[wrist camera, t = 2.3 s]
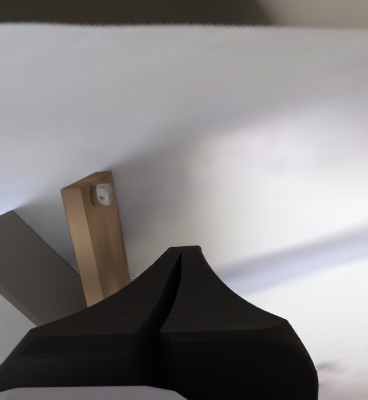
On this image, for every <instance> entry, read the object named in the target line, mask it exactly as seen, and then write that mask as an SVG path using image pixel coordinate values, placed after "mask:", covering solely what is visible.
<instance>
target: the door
mask: <svg viewBox="0 0 368 400" xmlns="http://www.w3.org/2000/svg"><path fill="white" fill-rule="evenodd" d="M61 194H62V199H63V203H64V207H65V212H66V216H67V220H68V224H69V229H70V233H71V237H72V242H73V246H74V250H75V255H76V259H77V263H78V268H79V272H80V276H81V281H82V285H83V289H84V294H85V298H86V302H87V307H90V306H92V305H94V304H96V303H98V302H100V301H102V300H103V299H105V298H107V297H109V296H111V295H112V294H114V293H116V292H118V291H119V290H121V289H122V288H124V287H125V286H127V285H128V284H129V283H130V277H129V271H128V265H127V260H126V254H125V248H124V243H123V237H122V231H121V225H120V220H119V214H118V208H117V203H116V197H115V191H114V185H113V180H112V174H111V171H102V172H95V173H93V174H91V175H89V176H87V177H85V178H83V179H81V180H79V181H77V182H75V183H73V184H71V185H69V186H67V187H65V188H63V189H61Z"/></svg>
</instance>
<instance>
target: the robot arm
mask: <svg viewBox="0 0 368 400" xmlns="http://www.w3.org/2000/svg"><path fill="white" fill-rule="evenodd" d="M318 387H319V384H318V376H317V371H316V369H315V366H314V364H313V361H312V359H311V357H310V355H309V353H308V352H307V350H306V348H305V346H304V345H303V343H302V341H301V340H300V338H299V337H298V335H297V334H296V332H295V331H294V329H293V328H292V326H291V325H290V323H289V322H288V321H287V320H286V319H283V318H281V317H279V316H276V315H274V314H271V313H269V312H267V311H264V310H262V309H260V308H258V307H256V306H255V305H253V304H251V303H249V302H248V301H246V300H244V299H243V298H241V297H240V296H239V295H237V294H236V293H234V292H233V291H232V290H231V289H230V288H228V287H227V286H226V285H225V284H224V283H223V282H222V281H221V280H220V278H219V277H218V276H217V275H216V274H215V273H214V271H213V270H212V269H211V267H210V266H209V264H208V263H207V261H206V259H205V258H204V256H203V254H202V251H201V247H200V246H181V247H170V248H168V249H167V250H166V251H165V252H164V253H163V254H162V255H161V256H160V257H159V258H158V259H157V260H156V261H155V262H154V263H153V264H152V265H151V266H150V267H149V268H148V269H147V270H146V271H144V272H143V273H142V274H141V275H140V276H138V277H137V278H136V279H135V280H134V281H132V282H131V283H129V284H128V285H127V286H125V287H124V288H122V289H121V290H119V291H118V292H116V293H114V294H112V295H111V296H109V297H107V298H105V299H103V300H102V301H100V302H98V303H96V304H94V305H92V306H90V307H88V308H86V309H84V310H81V311H79V312H77V313H74V314H72V315H69V316H67V317H64V318H62V319H59V320H56V321H53V322H50V323H47V324H44V325H41V326H38V327H35V328H32V329H30V330H29V331H28V332H27V333H26V335H25V336H24V337H23V338H22V340H21V341H20V342H19V343H18V344H17V346H16V347H15V348H14V349H13V351H12V352H11V353H10V354H9V355H8V357H7V358H6V359H5V360H4V361H3V363H2V364H1V365H0V400H318Z"/></svg>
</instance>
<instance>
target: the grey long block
mask: <svg viewBox="0 0 368 400" xmlns="http://www.w3.org/2000/svg"><path fill="white" fill-rule="evenodd" d="M86 308H88V307H87V302H86V298H85V294H84V289H83V285H82V281H81V276H80V275H79V274H78V273H77V272H76V271H75V270H73V269H72V268H71V267H70V266H69V265H68V264H67V263H66V262H65V261H64V260H63V259H62V258H61V257H60V256H59V255H58V254H57V253H56V252H55V251H54V250H53V249H52V248H51V247H50V246H49V245H48V244H46V243H45V242H44V241H43V240H42V239H41V238H40V237H39V236H38V235H37V234H36V233H35V232H34V231H33V230H32V229H31V228H30V227H29V226H28V225H27V224H26V223H25V222H24V221H23V220H22V219H21V218H19V217H18V216H17V215H16V214H15V213H14V212H13V211H12V210H11V211H9V212H7V213H5V214H2V215H0V365H1V364H2V363H3V361H4V360H5V359H6V358H7V357H8V355H9V354H10V353H11V352H12V351H13V349H14V348H15V347H16V346H17V344H18V343H19V342H20V341H21V340H22V338H23V337H24V336H25V335H26V333H27V332H28V331H29V330H30V329H32V328H35V327H38V326H41V325H44V324H47V323H50V322H53V321H56V320H59V319H62V318H64V317H67V316H69V315H72V314H74V313H77V312H79V311H81V310H84V309H86Z"/></svg>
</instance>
